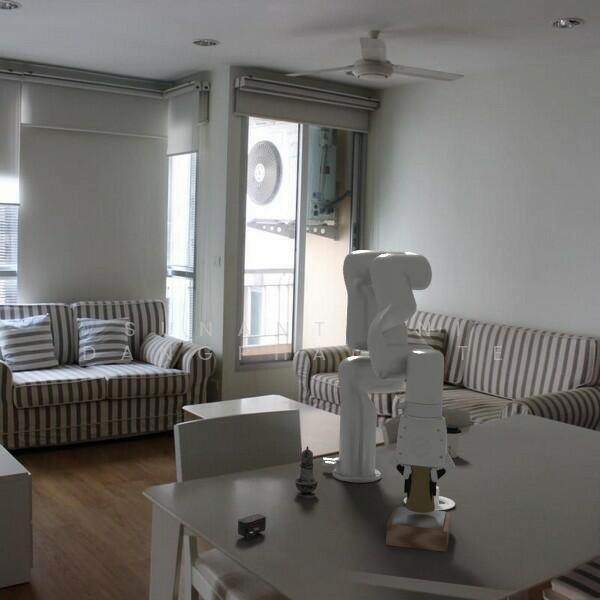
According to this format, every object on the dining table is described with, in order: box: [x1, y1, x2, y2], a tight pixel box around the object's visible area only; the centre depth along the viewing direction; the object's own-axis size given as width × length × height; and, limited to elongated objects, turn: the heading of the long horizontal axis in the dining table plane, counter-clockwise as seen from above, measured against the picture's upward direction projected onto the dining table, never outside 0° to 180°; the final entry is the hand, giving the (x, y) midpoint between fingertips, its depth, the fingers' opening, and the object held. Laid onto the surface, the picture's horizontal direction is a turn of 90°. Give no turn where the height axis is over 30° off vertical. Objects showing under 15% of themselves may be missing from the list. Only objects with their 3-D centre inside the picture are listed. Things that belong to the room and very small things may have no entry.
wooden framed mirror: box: [385, 506, 452, 553], centre depth 164 cm, size 12×12×5 cm
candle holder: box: [403, 485, 456, 511], centre depth 187 cm, size 12×12×4 cm
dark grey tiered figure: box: [293, 445, 320, 500], centre depth 191 cm, size 6×6×12 cm
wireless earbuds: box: [237, 513, 267, 540], centre depth 164 cm, size 4×7×3 cm, turn 137°
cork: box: [404, 466, 435, 513], centre depth 163 cm, size 6×6×11 cm
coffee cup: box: [446, 423, 462, 459], centre depth 229 cm, size 7×7×10 cm
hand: (420, 497), depth 164 cm, fingers closed on cork, 3 cm apart
